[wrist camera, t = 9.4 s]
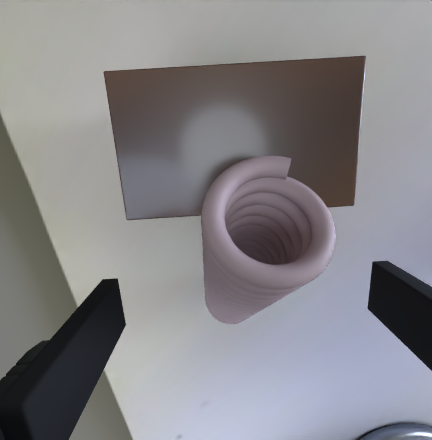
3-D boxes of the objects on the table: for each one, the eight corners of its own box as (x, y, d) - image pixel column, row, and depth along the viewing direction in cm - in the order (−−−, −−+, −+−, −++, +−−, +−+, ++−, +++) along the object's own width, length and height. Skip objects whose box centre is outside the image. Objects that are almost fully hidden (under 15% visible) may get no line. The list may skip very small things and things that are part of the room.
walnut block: (292, 184, 23) (354, 205, 13) (162, 192, 23) (126, 220, 13) (294, 101, 21) (366, 55, 11) (152, 110, 21) (103, 71, 11)
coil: (258, 319, 23) (379, 269, 7) (209, 328, 23) (213, 297, 6) (247, 270, 25) (321, 142, 9) (202, 278, 25) (191, 156, 8)
